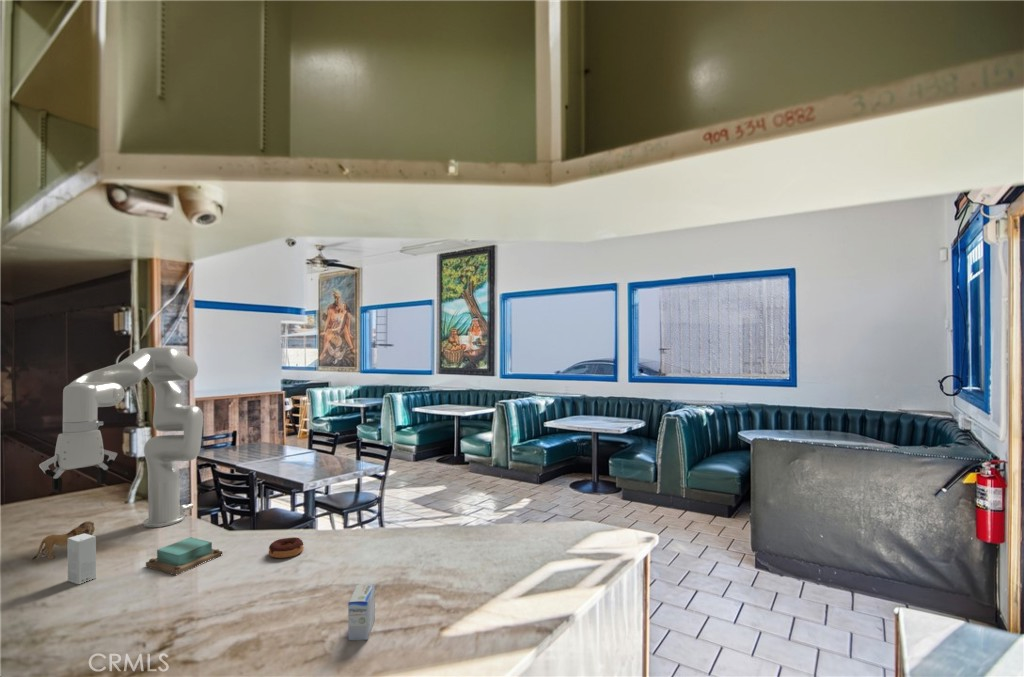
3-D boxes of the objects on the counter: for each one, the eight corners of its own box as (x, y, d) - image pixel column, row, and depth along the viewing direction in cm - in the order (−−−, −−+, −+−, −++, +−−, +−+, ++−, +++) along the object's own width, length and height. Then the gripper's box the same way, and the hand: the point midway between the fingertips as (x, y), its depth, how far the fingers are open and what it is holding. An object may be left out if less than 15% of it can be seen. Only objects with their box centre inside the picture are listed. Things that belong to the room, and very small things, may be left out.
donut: (309, 547, 159) (309, 535, 159) (293, 561, 150) (293, 548, 149) (280, 546, 160) (279, 534, 160) (261, 560, 150) (261, 547, 150)
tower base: (193, 547, 159) (192, 533, 159) (222, 555, 154) (222, 540, 154) (145, 566, 147) (145, 551, 147) (176, 575, 141) (175, 559, 141)
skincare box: (97, 578, 139) (96, 536, 139) (78, 585, 136) (78, 541, 136) (85, 574, 142) (84, 532, 142) (66, 581, 138) (66, 538, 138)
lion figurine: (94, 545, 162) (94, 517, 162) (94, 550, 158) (94, 522, 158) (32, 558, 153) (32, 529, 153) (30, 564, 149) (30, 534, 149)
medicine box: (356, 620, 117) (355, 584, 117) (375, 619, 118) (375, 583, 118) (348, 641, 109) (347, 602, 109) (368, 640, 110) (368, 601, 110)
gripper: (111, 422, 151) (110, 479, 151) (35, 430, 136) (34, 493, 136) (122, 424, 147) (121, 482, 147) (45, 432, 132) (44, 497, 132)
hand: (79, 487), depth 141 cm, fingers open, 9 cm apart
